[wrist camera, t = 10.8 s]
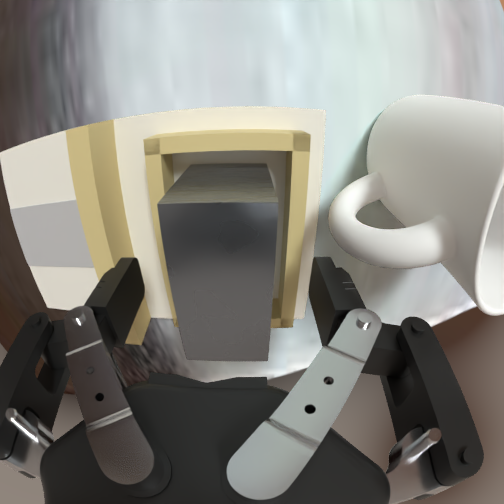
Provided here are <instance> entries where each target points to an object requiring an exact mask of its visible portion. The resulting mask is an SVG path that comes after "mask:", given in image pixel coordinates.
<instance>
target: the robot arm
mask: <svg viewBox="0 0 504 504" xmlns="http://www.w3.org/2000/svg"><path fill="white" fill-rule="evenodd" d="M144 294H145V285H144V281H143V277H142V273H141V269H140V265H139V261H138V259H137V258H136V257H122V258H120V260H119V261H118V263H117V264H116V266H115V267H114V268H111V269H109V270H108V271H107V272H106V273H104V275H103V276H102V278H101V279H100V281H99V282H98V284H97V285H96V288H94V290H93V291H92V293H91V294H90V296H89V298H88V299H87V301H86V302H85V304H84V306H78V307H75V308H73V309H71V310H70V311H69V312H68V313H67V314H66V315H65V317H64V320H58V321H51V320H50V319H49V317H48V315H47V314H46V313H43V312H39V313H36V314H34V315H32V316H30V317H29V318H28V319H27V320H26V322H25V323H24V325H23V327H22V328H21V330H20V332H19V333H18V335H17V337H16V339H15V340H14V342H13V344H12V346H11V347H10V349H9V351H8V353H7V355H6V357H5V359H4V360H3V363H2V364H1V366H0V461H1V462H2V463H4V464H5V465H7V466H9V467H10V468H12V469H13V470H15V471H18V472H20V473H22V474H23V475H25V476H27V477H29V478H36V477H37V478H39V479H41V481H42V485H43V490H44V498H45V504H396V503H400V502H403V501H406V500H409V499H412V498H413V499H417V500H421V499H425V498H427V497H430V496H432V495H434V494H437V493H439V492H441V491H443V490H446V489H448V488H450V487H452V486H454V485H456V484H458V483H460V482H462V481H464V480H465V479H467V478H469V477H471V476H473V475H474V474H476V473H477V472H478V470H479V469H480V467H481V465H482V463H483V458H484V453H483V449H482V445H481V442H480V439H479V436H478V433H477V430H476V427H475V424H474V421H473V419H472V416H471V413H470V411H469V408H468V405H467V403H466V401H465V398H464V396H463V393H462V391H461V388H460V386H459V384H458V381H457V379H456V377H455V375H454V373H453V370H452V368H451V366H450V364H449V362H448V360H447V358H446V356H445V354H444V351H443V349H442V347H441V346H440V344H439V342H438V340H437V338H436V336H435V334H434V332H433V330H432V328H431V327H430V325H429V324H428V323H427V322H426V321H424V320H423V319H421V318H418V317H408V318H405V319H404V320H403V321H402V323H401V326H398V325H391V324H385V323H382V322H381V319H380V318H379V316H378V315H377V314H375V313H374V312H372V311H370V310H367V309H366V307H365V305H364V303H363V301H362V299H361V297H360V295H359V293H358V291H357V289H356V287H355V285H354V283H353V281H352V279H351V277H350V275H349V274H348V273H347V272H346V271H345V270H344V269H342V268H336V267H335V265H334V263H333V261H332V259H331V257H314V258H313V262H312V269H311V276H310V282H309V298H310V302H311V305H312V309H313V313H314V316H315V320H316V324H317V327H318V331H319V335H320V339H321V343H322V346H323V347H322V349H321V350H320V352H319V353H318V354H317V356H316V357H315V359H314V360H313V362H312V363H311V364H310V366H309V367H308V369H307V370H306V372H305V373H304V374H303V376H302V377H301V379H300V380H299V381H298V383H297V384H296V385H295V387H294V388H293V389H292V390H291V392H290V393H289V392H287V391H285V390H283V389H280V388H277V387H274V386H269V385H267V377H236V378H231V379H226V380H220V381H215V382H209V383H204V382H200V381H197V380H193V379H190V378H186V377H183V376H180V375H173V374H162V373H152V372H150V376H149V380H148V381H143V382H139V383H136V384H133V385H131V386H127V384H126V382H125V380H124V378H123V376H122V373H121V371H120V369H119V367H118V364H117V362H116V360H115V358H114V355H113V353H112V350H113V348H114V347H117V348H123V347H124V344H125V342H126V339H127V337H128V334H129V332H130V329H131V327H132V324H133V322H134V319H135V317H136V315H137V312H138V310H139V307H140V305H141V303H142V300H143V298H144ZM40 357H42V358H43V360H44V361H45V362H44V364H43V367H42V369H41V371H40V374H39V376H38V378H36V376H35V368H36V365H37V363H38V361H39V359H40ZM360 373H366V374H373V375H380V378H381V382H382V385H383V388H384V392H385V396H386V399H387V403H388V407H389V411H390V415H391V418H392V422H393V427H394V431H395V435H396V440H397V443H396V444H395V445H394V446H393V447H392V449H391V451H390V453H389V465H388V469H387V471H386V473H385V472H383V470H382V469H381V468H380V467H379V466H378V465H377V464H376V463H374V462H373V461H372V460H370V459H369V458H368V457H367V456H365V455H364V454H363V453H361V452H360V451H359V450H358V449H357V448H355V447H354V446H353V445H352V444H350V443H349V442H348V441H347V440H346V439H344V438H343V437H342V436H341V435H339V434H338V433H337V432H336V431H335V430H334V429H332V428H331V426H332V424H333V422H334V421H335V419H336V417H337V415H338V414H339V412H340V410H341V409H342V407H343V405H344V403H345V401H346V400H347V398H348V396H349V394H350V392H351V390H352V388H353V387H354V384H355V383H356V381H357V379H358V377H359V375H360ZM70 375H71V379H72V382H73V386H74V390H75V393H76V396H77V399H78V403H79V406H80V409H81V412H82V415H83V418H84V420H83V421H81V422H80V423H79V424H77V425H76V426H75V427H74V428H72V429H71V430H70V431H68V432H67V433H65V434H64V435H63V436H61V437H60V438H59V439H57V440H56V441H55V442H54V437H53V433H52V428H53V425H54V421H55V418H56V415H57V412H58V408H59V405H60V402H61V399H62V396H63V393H64V391H65V388H66V385H67V382H68V380H69V377H70Z"/></svg>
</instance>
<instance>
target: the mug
mask: <svg viewBox="0 0 504 504" xmlns="http://www.w3.org/2000/svg"><path fill="white" fill-rule="evenodd" d="M367 170H368V175H366V176H364V177H362V178H360V179H358V180H356V181H354V182H352V183H351V184H349V185H348V186H347V187H345V188H344V189H343V190H342V191H341V192H340V193H339V194H338V195H337V196H336V197H335V199H334V200H333V202H332V204H331V206H330V210H329V214H328V221H329V229H330V231H331V234H332V236H333V237H334V239H335V240H336V242H337V243H338V245H339V246H340V247H341V248H342V249H343V250H345V251H346V252H347V253H349V254H350V255H352V256H353V257H355V258H357V259H358V260H360V261H363V262H365V263H368V264H370V265H375V266H379V267H383V268H393V269H410V268H418V267H424V266H429V265H433V264H437V263H440V262H441V264H442V265H443V266H444V267H445V268H446V269H447V270H448V271H449V272H450V274H451V275H452V276H453V277H454V278H455V279H456V280H457V282H458V283H459V284H460V285H461V286H462V288H463V289H464V290H465V291H466V292H467V294H468V295H469V296H470V297H471V299H472V300H473V301H474V302H475V304H476V305H477V306H478V307H479V309H480V310H482V311H483V312H484V313H486V314H489V315H495V316H497V315H502V314H504V106H500V105H495V104H491V103H485V102H480V101H474V100H468V99H461V98H453V97H445V96H434V95H412V96H408V97H404V98H401V99H399V100H397V101H395V102H393V103H392V104H390V105H389V106H388V107H387V108H386V109H385V110H384V111H383V112H382V113H381V114H380V116H379V117H378V119H377V120H376V122H375V124H374V126H373V128H372V131H371V133H370V137H369V140H368V146H367ZM379 199H380V200H381V202H382V203H383V205H384V206H385V207H386V208H387V209H388V210H389V211H390V212H391V213H392V214H393V215H394V216H395V217H396V218H397V219H398V220H399V221H400V222H401V223H402V224H403V225H404V226H406V227H407V228H400V229H378V228H374V227H370V226H367V225H365V224H363V223H361V222H359V221H358V220H357V219H356V214H357V212H358V211H359V210H360V209H361V208H362V207H364V206H366V205H367V204H369V203H371V202H374V201H376V200H379Z"/></svg>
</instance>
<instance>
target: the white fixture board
mask: <svg viewBox="0 0 504 504" xmlns="http://www.w3.org/2000/svg"><path fill="white" fill-rule="evenodd" d="M325 120H326V110H318V109H306V108H290V107H257V106H245V107H211V108H196V109H183V110H173V111H164V112H156V113H149V114H142V115H135V116H129V117H123V118H118V119H113V120H108V121H103V122H98V123H94V124H89V125H85V126H81V127H77V128H73V129H69V130H65V131H62V132H58V133H55V134H52V135H48V136H45V137H42V138H39V139H36V140H33V141H30V142H27V143H24V144H21V145H18V146H16V147H13V148H11V149H8V150H5V151H3V152H1V153H0V161H1V167H2V173H3V178H4V183H5V187H6V192H7V196H8V200H9V204H10V208H11V209H10V212H11V215H12V219H13V222H14V226H15V229H16V232H17V235H18V238H19V241H20V244H21V247H22V250H23V253H24V255H25V258H26V261H27V263H28V266H30V269H31V271H32V274H33V276H34V278H35V281H36V283H37V285H38V288H39V290H40V292H41V294H42V296H43V298H44V301H45V303H46V305H47V307H48V308H56V309H63V310H71V309H73V308H75V307H78V306H84V304H85V302H86V301H87V299H88V298H89V296H90V294H91V293H92V291H93V290H94V288H96V285H97V284H98V282H99V281H100V279H101V278H102V276H103V275H104V273H106V272H107V271H108V270H109V269H111V268H114V267H115V266H116V264H117V263H118V261H119V260H120V258H122V257H136V258H137V259H138V261H139V265H140V269H141V273H142V277H143V281H144V285H145V294H144V298H143V300H142V303H141V305H140V307H139V310H138V312H137V315H136V317H135V319H134V322H133V324H132V327H131V329H130V332H129V334H128V337H127V339H126V342H125V343H126V344H136V345H142V342H143V339H144V336H145V333H146V330H147V327H148V325H149V322H150V319H151V318H171V319H173V322H174V326H175V327H179V325H178V321H177V316H176V312H175V307H174V302H173V298H172V293H171V288H170V283H169V277H168V272H167V266H166V261H165V255H164V249H163V243H162V236H161V229H160V222H159V215H158V208H157V204H158V202H159V201H160V200H161V199H162V197H163V196H164V195H165V194H166V193H167V191H168V190H169V189H170V188H171V187H172V185H173V184H174V183H175V182H176V181H177V180H178V178H179V177H180V176H181V175H182V174H183V173H184V172H185V170H186V169H187V168H188V167H189V166H190V165H191V164H222V163H265V164H267V166H268V169H269V172H270V176H271V179H272V182H273V186H274V189H275V192H276V196H277V199H278V202H279V204H278V223H277V241H276V257H275V273H274V288H273V302H272V315H271V328H289V327H293V321H294V319H304V315H305V309H306V303H307V296H308V290H309V282H310V276H311V269H312V262H313V254H314V247H315V238H316V230H317V221H318V212H319V202H320V192H321V180H322V168H323V155H324V139H325Z"/></svg>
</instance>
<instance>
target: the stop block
mask: <svg viewBox="0 0 504 504" xmlns="http://www.w3.org/2000/svg"><path fill="white" fill-rule="evenodd" d="M278 204H279V202H278V199H277V196H276V192H275V189H274V186H273V182H272V179H271V176H270V172H269V169H268V166H267V164H265V163H222V164H191V165H190V166H189V167H188V168H187V169H186V170H185V172H184V173H183V174H182V175H181V176H180V177H179V178H178V180H177V181H176V182H175V183H174V184H173V185H172V187H171V188H170V189H169V190H168V191H167V193H166V194H165V195H164V196H163V197H162V199H161V200H160V201H159V202H158V204H157V208H158V215H159V222H160V229H161V236H162V243H163V249H164V255H165V261H166V266H167V272H168V277H169V283H170V288H171V293H172V298H173V302H174V307H175V312H176V316H177V321H178V325H179V330H180V334H181V338H182V342H183V346H184V350H185V354H186V358H187V359H190V360H211V361H268V352H269V340H270V328H271V315H272V302H273V288H274V273H275V257H276V241H277V223H278Z"/></svg>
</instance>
